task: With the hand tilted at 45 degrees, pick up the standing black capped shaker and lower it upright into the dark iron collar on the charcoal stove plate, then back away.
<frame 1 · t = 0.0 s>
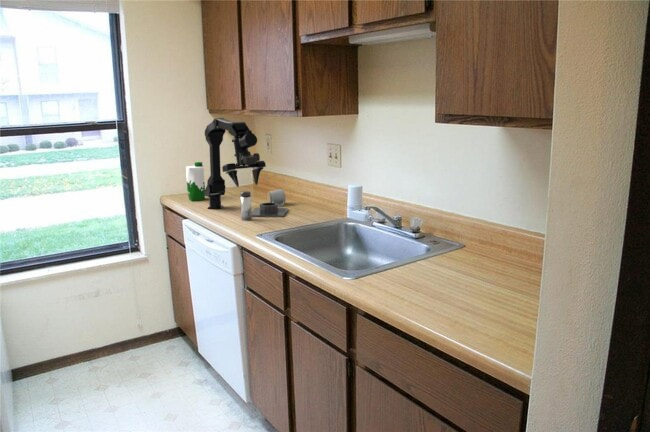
hand: (247, 185, 226), 15 cm above the worktop, tool pointing down, fingers open, 9 cm apart
black capped shaker: (246, 219, 231), on the worktop
milk carton: (196, 200, 278), on the worktop
firebox collar: (269, 213, 243), on the worktop
ceramic mug: (277, 205, 263), on the worktop
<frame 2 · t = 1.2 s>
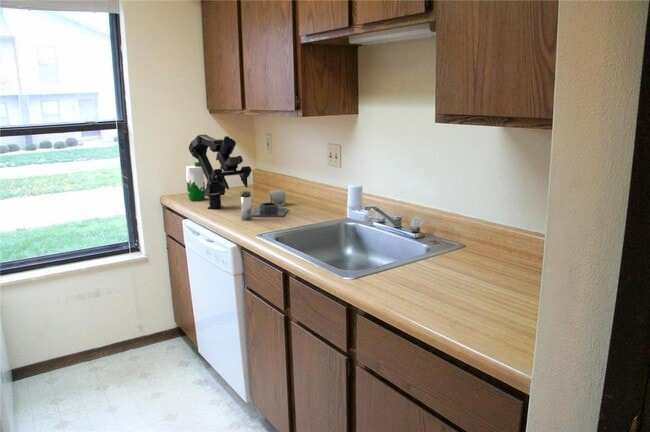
hand: (237, 187, 234), 13 cm above the worktop, tool tilted 45°, fingers open, 9 cm apart
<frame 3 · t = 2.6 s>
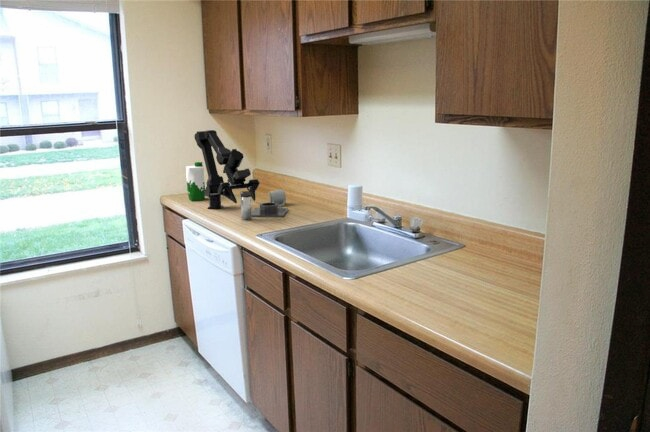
hand: (245, 201, 230), 8 cm above the worktop, tool tilted 45°, fingers open, 9 cm apart
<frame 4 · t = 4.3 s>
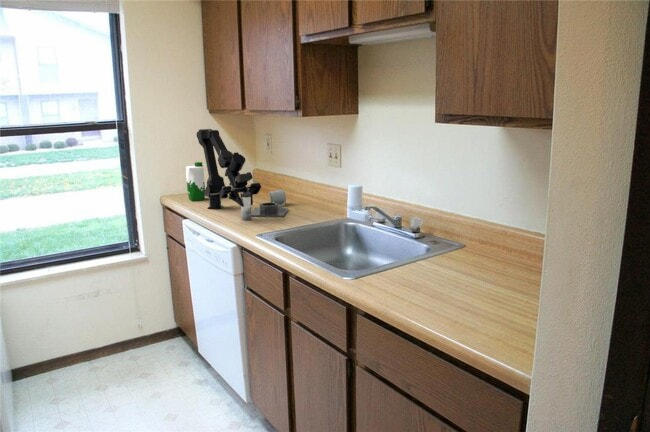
hand: (247, 205, 229), 7 cm above the worktop, tool tilted 45°, fingers closed on black capped shaker, 4 cm apart
black capped shaker: (246, 219, 231), on the worktop, touching gripper
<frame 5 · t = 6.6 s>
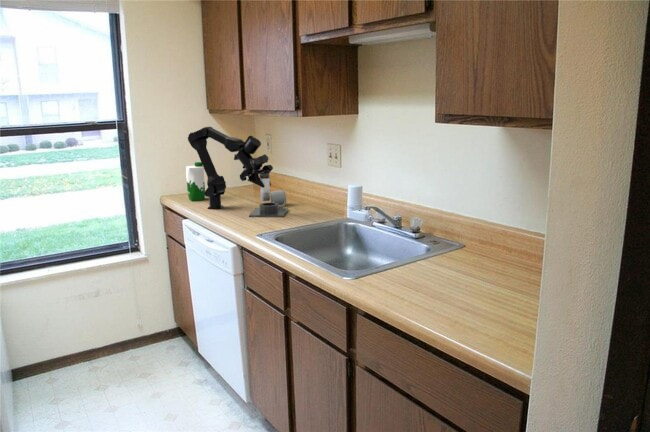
hand: (267, 186, 237), 13 cm above the worktop, tool tilted 45°, fingers closed on black capped shaker, 4 cm apart
black capped shaker: (265, 200, 239), point 7 cm above the worktop, touching gripper
when the fingers open (8 cm above the worktop, at t = 9.4 s): black capped shaker stays where it is, resting on firebox collar.
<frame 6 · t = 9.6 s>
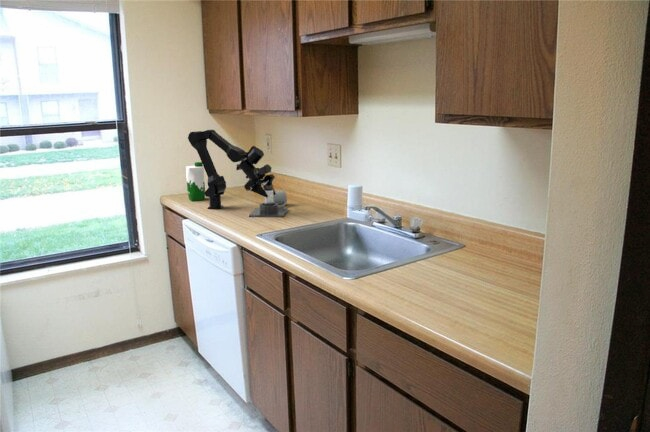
hand: (271, 195, 241), 9 cm above the worktop, tool tilted 45°, fingers open, 7 cm apart
black capped shaker: (269, 211, 243), point 1 cm above the worktop, touching firebox collar
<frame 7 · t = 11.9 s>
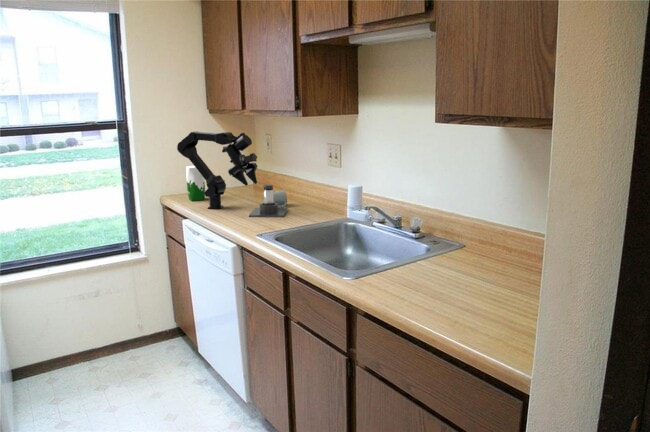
hand: (251, 184, 245), 13 cm above the worktop, tool tilted 35°, fingers open, 9 cm apart
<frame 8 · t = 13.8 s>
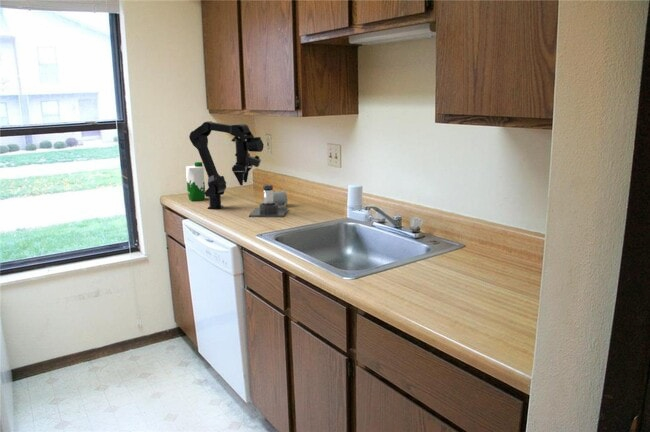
hand: (243, 183, 247), 13 cm above the worktop, tool pointing down, fingers open, 9 cm apart
at the end: black capped shaker 0.0 cm off-centre on the firebox collar, point 0.8 cm above the firebox collar's base; black capped shaker tilted 1°; the gripper is holding nothing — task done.
